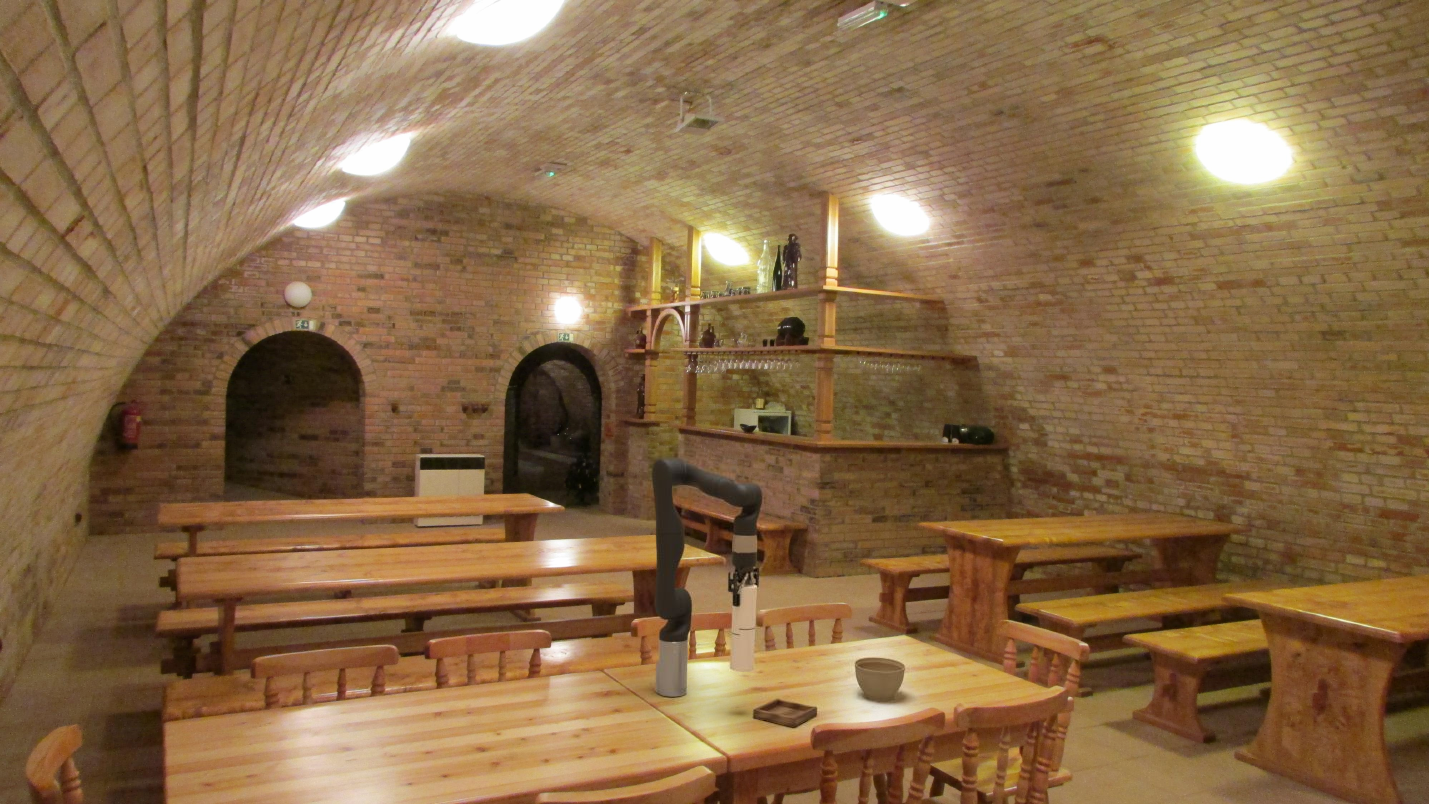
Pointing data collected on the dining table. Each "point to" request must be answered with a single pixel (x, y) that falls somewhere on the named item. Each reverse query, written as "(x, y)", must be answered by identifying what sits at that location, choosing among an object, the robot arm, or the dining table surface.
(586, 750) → the dining table surface
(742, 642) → the cylindrical container
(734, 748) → the dining table surface
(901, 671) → the planter bowl
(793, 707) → the walnut tray
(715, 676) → the dining table surface
